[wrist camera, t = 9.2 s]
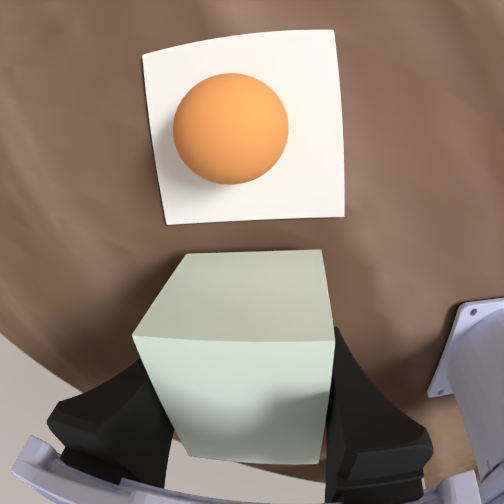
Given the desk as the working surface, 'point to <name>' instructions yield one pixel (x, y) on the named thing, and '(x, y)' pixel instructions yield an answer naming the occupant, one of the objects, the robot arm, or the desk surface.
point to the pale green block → (243, 354)
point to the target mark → (299, 117)
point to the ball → (230, 128)
